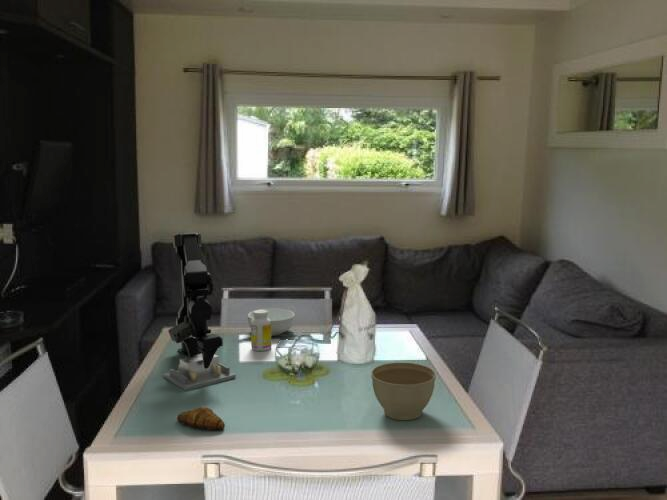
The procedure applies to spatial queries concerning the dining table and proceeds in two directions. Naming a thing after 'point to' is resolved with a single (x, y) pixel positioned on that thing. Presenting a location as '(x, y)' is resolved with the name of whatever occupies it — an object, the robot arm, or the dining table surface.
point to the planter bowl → (403, 388)
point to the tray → (181, 380)
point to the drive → (197, 366)
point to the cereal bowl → (277, 320)
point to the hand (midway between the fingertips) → (199, 364)
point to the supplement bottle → (260, 331)
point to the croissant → (201, 419)
